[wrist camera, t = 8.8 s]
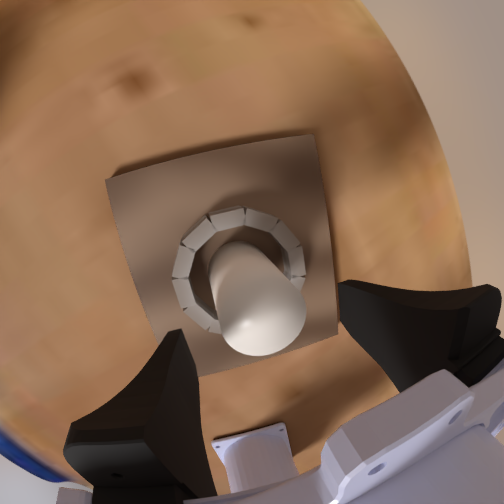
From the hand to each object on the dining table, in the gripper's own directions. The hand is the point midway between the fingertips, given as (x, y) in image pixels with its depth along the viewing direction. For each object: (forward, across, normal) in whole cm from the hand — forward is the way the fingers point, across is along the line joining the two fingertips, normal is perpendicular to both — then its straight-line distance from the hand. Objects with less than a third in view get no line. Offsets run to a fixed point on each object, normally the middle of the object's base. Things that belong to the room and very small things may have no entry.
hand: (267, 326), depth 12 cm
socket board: (+8, 0, 0) cm, 9 cm away
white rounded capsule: (+8, 0, 0) cm, 8 cm away
